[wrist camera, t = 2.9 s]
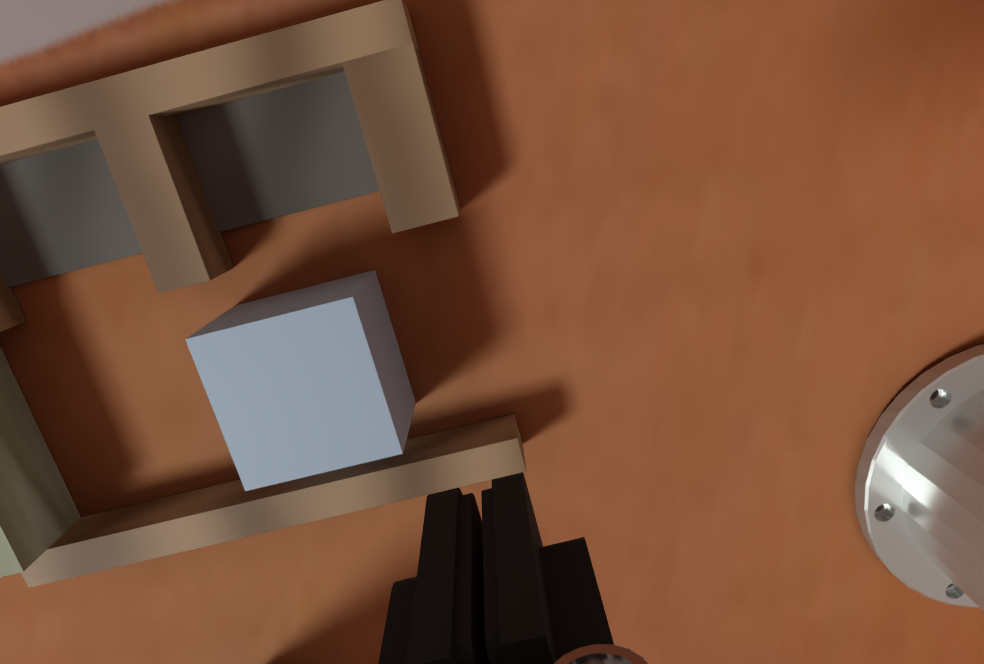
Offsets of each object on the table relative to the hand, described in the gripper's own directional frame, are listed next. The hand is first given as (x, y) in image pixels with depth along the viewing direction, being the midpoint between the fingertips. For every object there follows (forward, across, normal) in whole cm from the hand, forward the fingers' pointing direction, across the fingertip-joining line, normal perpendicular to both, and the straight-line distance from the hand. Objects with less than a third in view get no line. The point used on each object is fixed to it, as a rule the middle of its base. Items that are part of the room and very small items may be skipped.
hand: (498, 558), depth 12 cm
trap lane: (+18, +10, -3) cm, 20 cm away
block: (+18, +7, 0) cm, 19 cm away
